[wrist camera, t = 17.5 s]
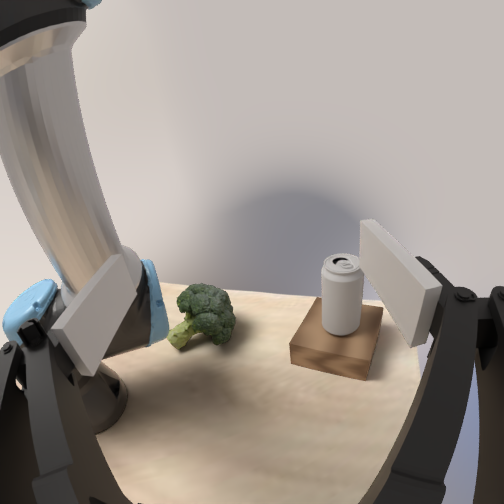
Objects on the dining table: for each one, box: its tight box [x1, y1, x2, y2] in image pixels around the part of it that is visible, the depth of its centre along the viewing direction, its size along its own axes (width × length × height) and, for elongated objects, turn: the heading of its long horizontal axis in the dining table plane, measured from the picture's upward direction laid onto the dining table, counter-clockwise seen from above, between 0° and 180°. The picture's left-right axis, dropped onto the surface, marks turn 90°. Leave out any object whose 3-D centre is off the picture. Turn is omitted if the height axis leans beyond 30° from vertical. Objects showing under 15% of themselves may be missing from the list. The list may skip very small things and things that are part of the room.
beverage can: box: [321, 254, 364, 336], centre depth 40 cm, size 6×6×12 cm
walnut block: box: [289, 297, 383, 381], centre depth 44 cm, size 13×13×5 cm
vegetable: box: [166, 283, 236, 350], centre depth 51 cm, size 12×13×15 cm
